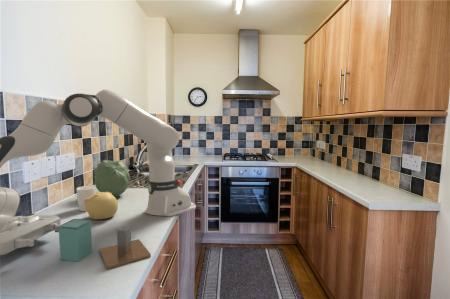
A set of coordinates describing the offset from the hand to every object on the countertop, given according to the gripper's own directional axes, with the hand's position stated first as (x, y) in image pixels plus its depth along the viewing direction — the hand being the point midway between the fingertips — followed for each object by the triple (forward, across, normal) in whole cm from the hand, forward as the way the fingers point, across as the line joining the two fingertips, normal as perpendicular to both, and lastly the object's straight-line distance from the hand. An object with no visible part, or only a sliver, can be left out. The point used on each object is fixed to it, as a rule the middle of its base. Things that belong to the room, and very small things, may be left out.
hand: (48, 235), depth 77 cm
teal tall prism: (+9, 0, +5) cm, 11 cm away
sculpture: (-3, +30, +6) cm, 30 cm away
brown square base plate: (+23, +3, +5) cm, 24 cm away
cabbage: (-18, +58, +6) cm, 61 cm away
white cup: (-17, +37, +6) cm, 41 cm away
